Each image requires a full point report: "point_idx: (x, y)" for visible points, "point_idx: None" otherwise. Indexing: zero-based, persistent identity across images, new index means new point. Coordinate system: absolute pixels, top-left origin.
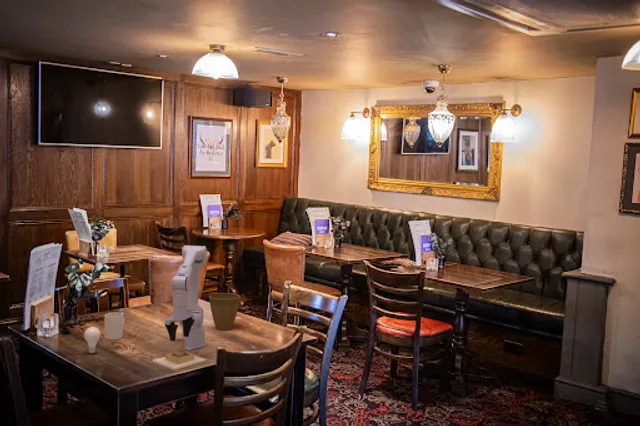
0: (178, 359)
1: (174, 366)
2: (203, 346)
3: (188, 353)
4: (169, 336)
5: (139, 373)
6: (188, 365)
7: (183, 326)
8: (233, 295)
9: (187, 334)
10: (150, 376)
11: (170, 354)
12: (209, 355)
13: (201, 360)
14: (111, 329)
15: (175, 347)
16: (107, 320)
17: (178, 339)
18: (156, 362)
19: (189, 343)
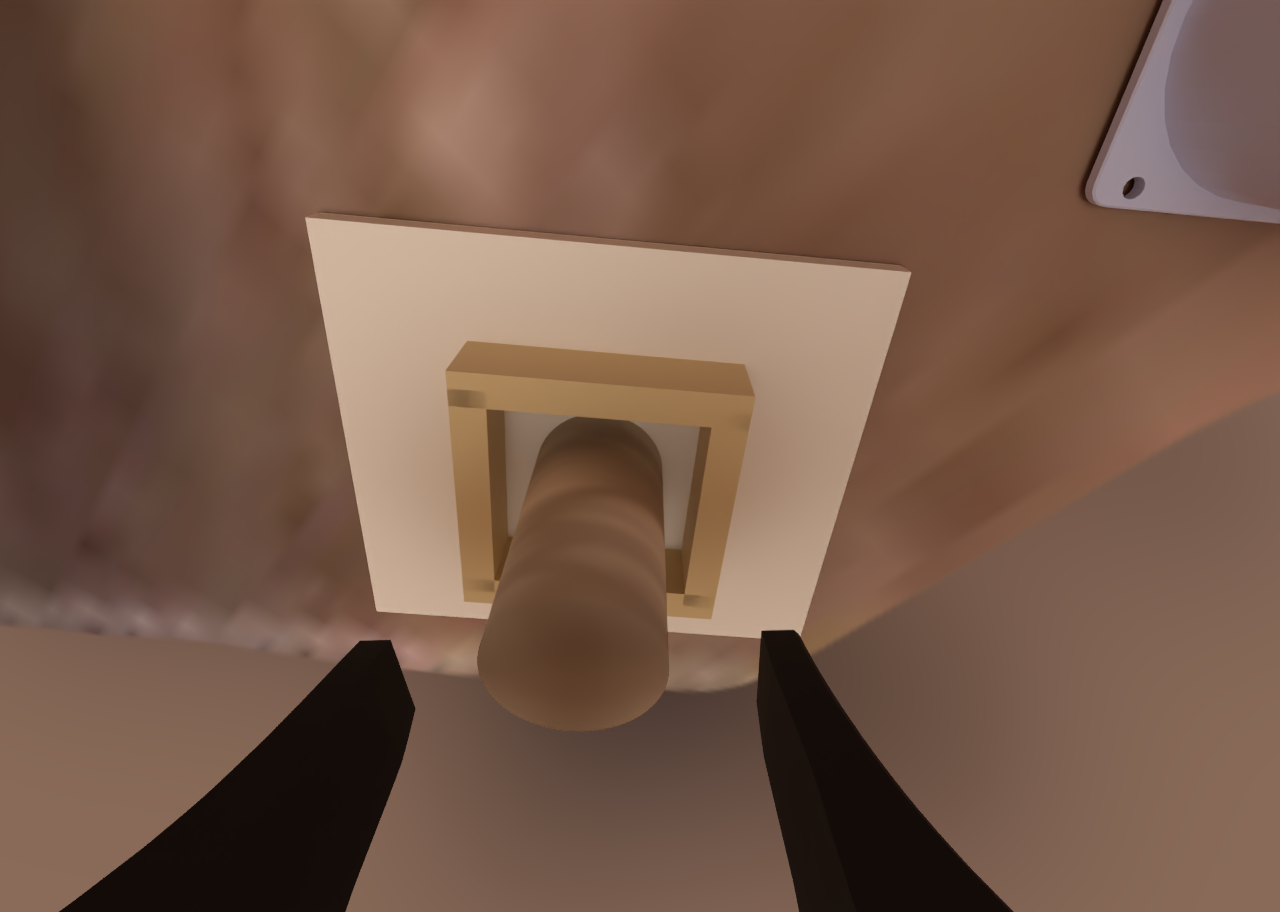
0: (471, 596)
1: (408, 576)
2: None
3: (701, 553)
4: (302, 704)
5: (6, 428)
6: None
7: (824, 840)
8: None
9: (764, 753)
10: (98, 560)
11: (512, 407)
12: (996, 529)
13: (741, 628)
14: None
15: (505, 565)
16: None
17: (588, 623)
18: (328, 308)
19: (1235, 150)
